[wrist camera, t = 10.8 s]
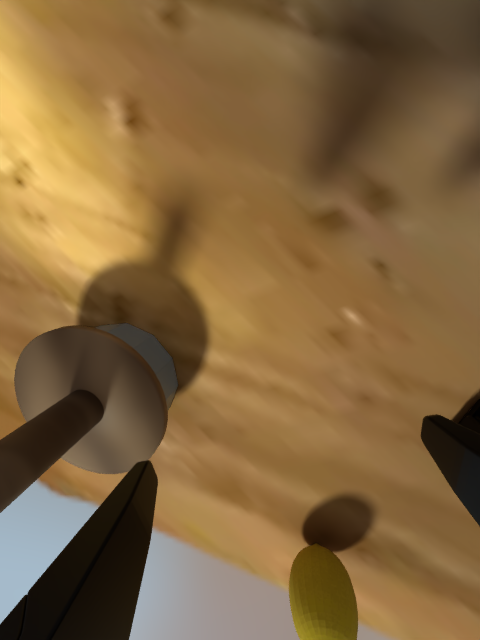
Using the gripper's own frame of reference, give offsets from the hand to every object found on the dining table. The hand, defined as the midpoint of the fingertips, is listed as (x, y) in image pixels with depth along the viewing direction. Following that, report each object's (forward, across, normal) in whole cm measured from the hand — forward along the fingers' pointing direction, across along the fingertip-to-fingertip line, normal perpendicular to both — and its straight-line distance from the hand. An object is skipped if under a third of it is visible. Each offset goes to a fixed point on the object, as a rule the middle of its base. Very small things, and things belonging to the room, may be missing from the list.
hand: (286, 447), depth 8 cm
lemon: (+9, -3, +24) cm, 26 cm away
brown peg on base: (+10, +13, +4) cm, 18 cm away
